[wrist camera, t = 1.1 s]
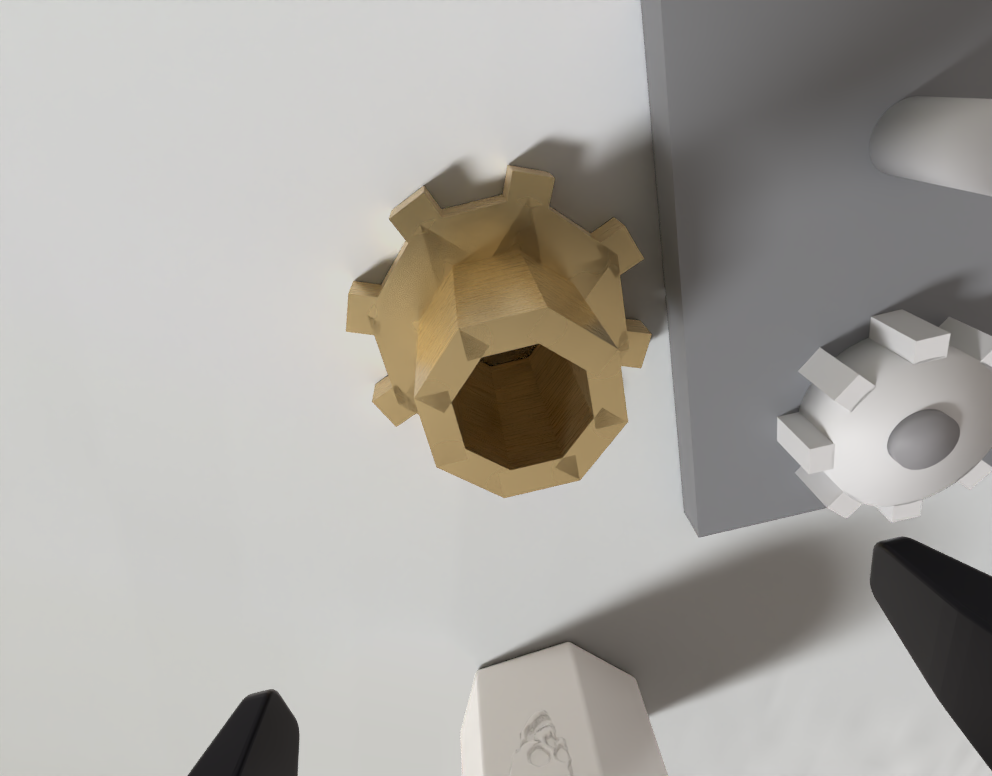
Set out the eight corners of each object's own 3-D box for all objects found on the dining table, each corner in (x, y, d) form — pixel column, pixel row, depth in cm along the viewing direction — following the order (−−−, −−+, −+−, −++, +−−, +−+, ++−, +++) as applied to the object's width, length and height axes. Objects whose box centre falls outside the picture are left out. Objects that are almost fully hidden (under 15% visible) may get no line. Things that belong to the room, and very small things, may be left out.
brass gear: (620, 137, 17) (704, 163, 12) (649, 404, 21) (720, 512, 16) (313, 212, 17) (259, 273, 12) (403, 462, 21) (394, 588, 16)
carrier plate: (1136, -137, 15) (1471, -239, 10) (1002, 437, 24) (1150, 530, 19) (639, -12, 15) (735, -53, 10) (684, 512, 24) (747, 622, 19)
